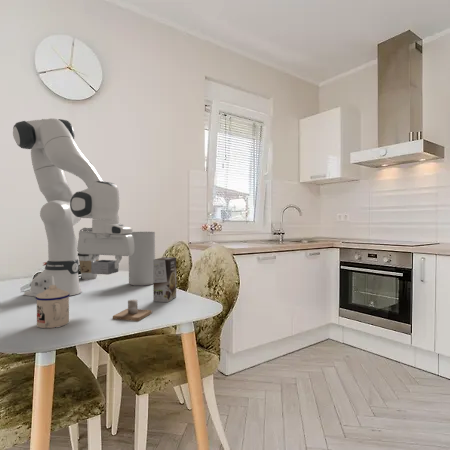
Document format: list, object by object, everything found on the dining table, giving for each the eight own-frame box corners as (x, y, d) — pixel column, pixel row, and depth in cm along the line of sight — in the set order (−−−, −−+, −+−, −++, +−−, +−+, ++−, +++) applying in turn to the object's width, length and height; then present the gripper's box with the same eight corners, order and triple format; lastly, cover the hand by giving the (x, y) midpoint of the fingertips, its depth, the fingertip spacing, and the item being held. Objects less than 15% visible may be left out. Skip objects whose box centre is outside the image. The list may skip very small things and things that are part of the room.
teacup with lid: (33, 323, 104) (33, 284, 104) (65, 317, 110) (65, 281, 109) (40, 333, 95) (40, 291, 94) (75, 327, 100) (75, 287, 100)
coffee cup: (73, 280, 178) (72, 251, 177) (85, 276, 189) (85, 249, 188) (93, 280, 176) (93, 251, 175) (104, 276, 187) (104, 249, 187)
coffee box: (168, 302, 130) (168, 259, 129) (152, 301, 131) (152, 259, 131) (177, 297, 139) (176, 257, 138) (161, 296, 140) (161, 256, 140)
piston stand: (112, 319, 108) (112, 303, 108) (127, 311, 117) (127, 296, 117) (139, 320, 106) (138, 304, 106) (151, 313, 115) (151, 298, 115)
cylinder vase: (133, 281, 174) (132, 231, 173) (157, 281, 174) (157, 231, 173) (125, 286, 161) (124, 232, 161) (151, 286, 161) (151, 232, 161)
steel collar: (91, 273, 117) (91, 261, 117) (102, 270, 123) (102, 259, 123) (108, 274, 116) (108, 262, 116) (118, 271, 122) (118, 260, 122)
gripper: (73, 227, 118) (73, 267, 119) (127, 229, 114) (127, 270, 114) (84, 227, 125) (84, 265, 125) (136, 228, 120) (136, 268, 120)
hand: (105, 268), depth 119 cm, fingers closed on steel collar, 6 cm apart
